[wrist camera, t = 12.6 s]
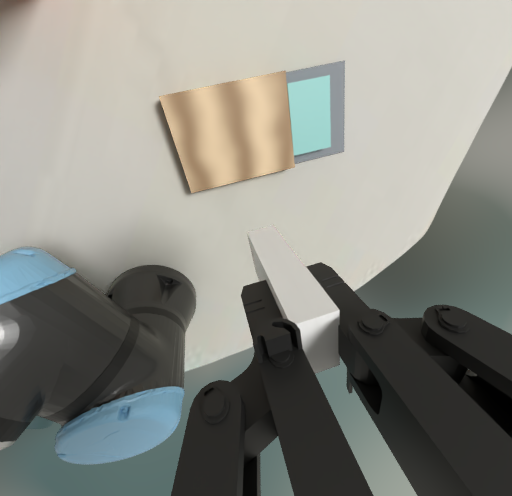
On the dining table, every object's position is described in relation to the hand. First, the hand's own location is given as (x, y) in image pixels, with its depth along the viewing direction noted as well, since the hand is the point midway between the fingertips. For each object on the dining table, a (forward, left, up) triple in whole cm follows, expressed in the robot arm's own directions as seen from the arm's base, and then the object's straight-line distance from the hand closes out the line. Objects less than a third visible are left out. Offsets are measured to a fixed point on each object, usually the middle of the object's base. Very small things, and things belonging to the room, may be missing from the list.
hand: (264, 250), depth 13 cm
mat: (+16, +4, -26) cm, 31 cm away
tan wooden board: (+3, +4, -26) cm, 27 cm away
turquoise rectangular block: (+14, +4, -26) cm, 30 cm away
